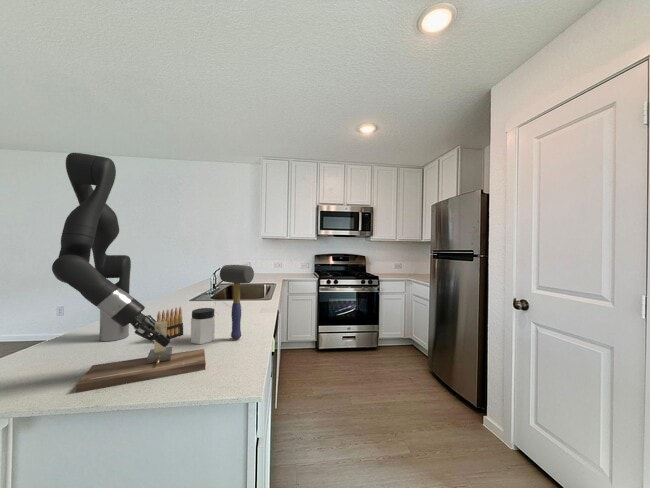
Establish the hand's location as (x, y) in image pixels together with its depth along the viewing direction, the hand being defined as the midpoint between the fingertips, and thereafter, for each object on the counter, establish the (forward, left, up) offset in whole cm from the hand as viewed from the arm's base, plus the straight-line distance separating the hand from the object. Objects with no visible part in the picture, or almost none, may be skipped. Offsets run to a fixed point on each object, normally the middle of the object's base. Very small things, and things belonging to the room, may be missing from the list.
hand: (168, 342), depth 84 cm
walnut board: (+3, -4, -7) cm, 9 cm away
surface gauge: (+2, -2, -5) cm, 5 cm away
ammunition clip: (-26, -1, -7) cm, 27 cm away
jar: (-18, +11, -7) cm, 22 cm away
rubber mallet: (-14, +23, -7) cm, 28 cm away
